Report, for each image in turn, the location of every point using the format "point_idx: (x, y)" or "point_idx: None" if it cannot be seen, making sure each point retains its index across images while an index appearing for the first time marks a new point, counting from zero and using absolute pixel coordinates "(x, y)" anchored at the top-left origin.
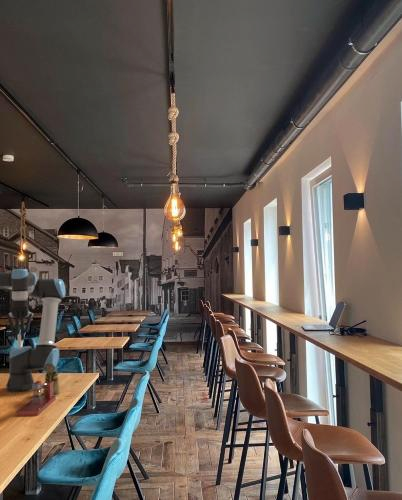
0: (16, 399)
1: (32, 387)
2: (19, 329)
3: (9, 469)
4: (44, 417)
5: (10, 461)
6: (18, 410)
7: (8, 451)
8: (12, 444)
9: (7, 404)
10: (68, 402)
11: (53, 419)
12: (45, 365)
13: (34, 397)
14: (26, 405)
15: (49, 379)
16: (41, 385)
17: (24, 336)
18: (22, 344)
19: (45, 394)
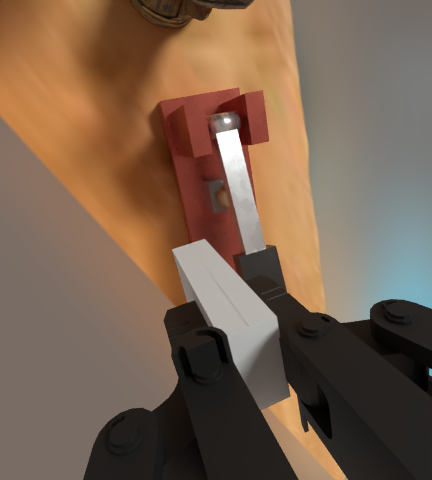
0: (57, 102)
1: None
2: (262, 416)
3: (338, 473)
4: (284, 272)
5: (327, 458)
6: None
7: (305, 438)
8: (296, 416)
9: (74, 179)
10: (292, 122)
11: (313, 280)
12: (218, 5)
13: (220, 207)
14: (197, 227)
15: (205, 17)
16: (248, 181)
17: (291, 297)
18: (212, 251)
19: (156, 23)
